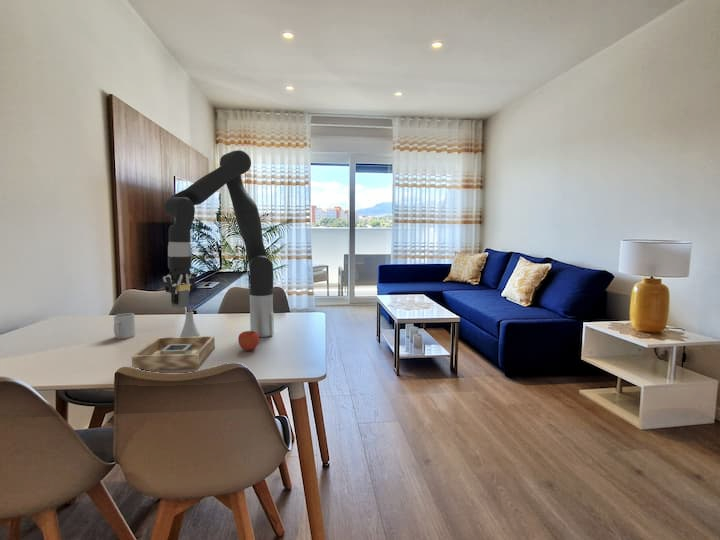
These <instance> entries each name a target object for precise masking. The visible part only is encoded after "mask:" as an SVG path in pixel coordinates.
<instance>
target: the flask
mask: <svg viewBox="0 0 720 540" xmlns="http://www.w3.org/2000/svg"><path fill="white" fill-rule="evenodd" d="M184 315H185V322H184V325H183V327H182V329H181V334H180V336H179V337H200V336H201V334H200V331H199V330H198V327H197V324H196V323H195V319H194V311H186V312H184Z"/></svg>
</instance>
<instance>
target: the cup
mask: <svg viewBox="0 0 720 540" xmlns="http://www.w3.org/2000/svg"><path fill="white" fill-rule="evenodd" d="M135 319H136V318H135V313H132V312H129V313H127V312H126V313H118V314H115V315H114V316H113V322H114V324H113V333H114V337H115V339H117V338H118V340H124V339H131V338H134V337H135V336H136V320H135Z"/></svg>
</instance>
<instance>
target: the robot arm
mask: <svg viewBox="0 0 720 540" xmlns="http://www.w3.org/2000/svg"><path fill="white" fill-rule="evenodd" d="M251 167H252V160H251V157H250V155H249V154H248V153H247V152H246V151H244V150H242V149H236V150H232V151H230V152H227V153H225V154H223V155H222V156H221V157H220V160H219V167H217V168H216V169H214V170H213V171H211V172H209V173H207V174H205V175H203V176H202V177H201V178H199V179H197V180H196V181H194V182H193V183H191V185H189V186H188V187H187V188H185V189H183V190H181V191H179V192H177V193H175V194H173V195H171V196H170V197H169V198H167V200H166V201H165V202H164V204H163V211H164V213H165V214H166V215H167V216H168V217H170V218H174V224H172V225H169V227H168V243H167V244H168V245H167V267H168V269H169V272H168V274H167V275H166V276H165V275H162V277H161V280H162V284H163V288H164V290H165V292H166V293H170V302H172V304H175V305H177V304H178V294H177V293H178V287H179V285H181V284H190V290H189V293H190V292H191V290H192V291H193V290H194V289H195V284H196V281H197V276H198V274H197V273H193V272H192V271H191V268H192V244H191V242H192V240H191V231H192V226H193V222H194V219H195V213H196V208H195V206H198V205H200V204H203V203H204V202H205V201H207V200H208V199H209V198H210V197H211V196H212V195H214V194H216V192H218V191H219V190H220V189H221V188H222V187H224V186H225V185H226V187H227V190H228V193H229V196H230V197H229V198H230V201H231V204H232V207H233V211H234V216H235V219H236V223H237V227H238V230H239V232H240V235H241V238H242V240H243V242H244V246H245V250H246V256H247V261H248V269H249V314H250V316H249V318H250V319H249V321H250V322H249V323H250V325H249V326H250V330H249V331H254V332H256V333H257V334H258V335H259V338H267V337H273V336H274V333H275V328H274V327H275V326H274V325H275V324H274V323H275V322H274V321H275V319H274V317H275V316H274V315H275V314H274V309H273V307H274V304H273V303H274V300H273V294H274V293H273V290H274V265H273V262H272V261H271V259H270V258H269V256H268V254H267V251H266V248H265V244H264V239H263V230H262V221H261V216H260V213H259V209H258V206H257V204H256V202H255V201H254V199H253V198H252V197H251V195H249V193H248V192H247V190H246V189H245V187H244V183H243V180H242V175H244V174H246V173H247V172H248V171H249V170H250V169H251ZM175 284H176V285H175ZM173 287H175V290H173ZM252 329H253V330H252Z"/></svg>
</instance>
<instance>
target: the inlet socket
mask: <svg viewBox="0 0 720 540" xmlns="http://www.w3.org/2000/svg"><path fill="white" fill-rule="evenodd" d="M192 352H193V350H192V344H169V345H167V346H166V347H165V348H164V349H162V350H161V351H160V355H173V354H191V353H192Z"/></svg>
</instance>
